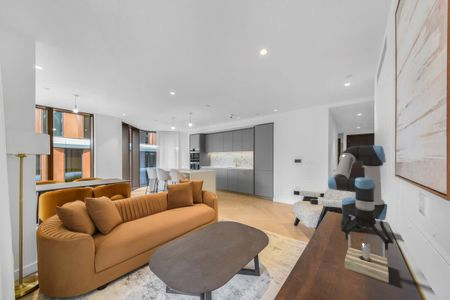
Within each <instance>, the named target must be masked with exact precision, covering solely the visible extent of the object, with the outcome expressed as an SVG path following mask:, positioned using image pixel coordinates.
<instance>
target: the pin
mask: <svg viewBox="0 0 450 300" xmlns="http://www.w3.org/2000/svg"><path fill="white" fill-rule="evenodd" d="M361 251H362V260H364V261H367V262H370V254H371V245H370V243H368V242H366V241H362V242H361Z"/></svg>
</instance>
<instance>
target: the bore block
mask: <svg viewBox="0 0 450 300" xmlns="http://www.w3.org/2000/svg"><path fill="white" fill-rule="evenodd" d="M347 248H348V249H347V251H346V255H345V259H344V269H347V270H350V271H351V272H352V271H353V272H354V273H358V274H360V275H363V276H366V277H369V278H372V279H375V280H377V281H381V282H383V283H386V284H389V282H390V281H389V265H388V258H387V257H383V256H381V255H377V254H374V253H370V262H367V261H364V260H362V250H359V249H355V248H353V247H347Z"/></svg>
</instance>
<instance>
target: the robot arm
mask: <svg viewBox="0 0 450 300" xmlns="http://www.w3.org/2000/svg"><path fill="white" fill-rule="evenodd" d="M338 158H339V162H338V164H337V165H338V166H337V168H336V171H335V174H334V176H332V177H330V176H329V178H328V179H327V187H328V188H329V190H334V191H341V192H350V193H355V194H354V195H355V197H353V196H351V197H349V196H348V197H344V198H342V199H341V208H342V209H341V210H342V211H341V213H342V215H341V219H340V222H339V227H340V228H341V230H340V231H341V232H343V233H345V240H347V242H348V243H347V246H348V247H347V248H351V245H352V244H351V239H352V238H351V232H357V233H359V232H364V228H366V229H371V230H373V231H374V233H375V234H376V235H377V236H378V237H379V238H380V239H381V240H382V257H384V258H386V251H388V250H389V244H394V240H393V238H392V237H391V235H390V233H389V232H388V230H387V228H386V227H385V226H384V225H385V224H384V221H385V219H386V217H387V212H388V204H387V203H385V201H384V200H383V199H382V182H381V179H382V178H381V175H382V174H381V167H383V166H384V163H385V164H386V161H387V159H386V154H385V149H384V147H383V146H382V145H374V144H371V145H354V146H350V147H348V148H346V149H344V150H343V151H342V152H341V153H340V156H339V157H338ZM355 163H361V165H362V166H363V168H364V169H363V170H364V177H356V178H350V175H351V170H352V168H353V164H355ZM376 224H377V225H378V226H379V227H380V228H381V230H382V232H383V233H384V234H383V233H382V232H381V231H380V230H379V229H378V228H377V226H375V225H376ZM384 235H385V236H384Z"/></svg>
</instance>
